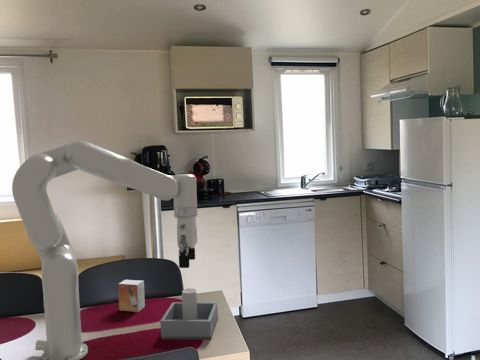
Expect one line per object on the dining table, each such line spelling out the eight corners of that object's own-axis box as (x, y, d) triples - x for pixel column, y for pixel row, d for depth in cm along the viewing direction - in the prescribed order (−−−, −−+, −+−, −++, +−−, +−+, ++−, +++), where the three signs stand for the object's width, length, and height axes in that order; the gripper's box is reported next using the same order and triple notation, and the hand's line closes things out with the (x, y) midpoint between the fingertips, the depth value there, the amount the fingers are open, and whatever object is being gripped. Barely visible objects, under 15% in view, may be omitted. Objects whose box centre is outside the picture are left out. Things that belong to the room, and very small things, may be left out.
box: (161, 339, 135) (160, 320, 134) (173, 318, 151) (172, 302, 150) (211, 339, 133) (210, 321, 133) (217, 318, 149) (217, 302, 149)
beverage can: (195, 329, 139) (193, 293, 138) (181, 328, 140) (179, 293, 139) (199, 323, 144) (198, 288, 143) (185, 322, 145) (184, 288, 144)
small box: (119, 311, 159) (117, 283, 158) (126, 305, 165) (125, 279, 164) (138, 312, 157) (137, 284, 156) (145, 306, 163) (144, 280, 162)
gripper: (191, 216, 130) (193, 271, 131) (201, 208, 147) (203, 256, 148) (167, 216, 130) (169, 271, 132) (180, 208, 148) (182, 256, 149)
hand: (187, 263), depth 140 cm, fingers open, 9 cm apart
